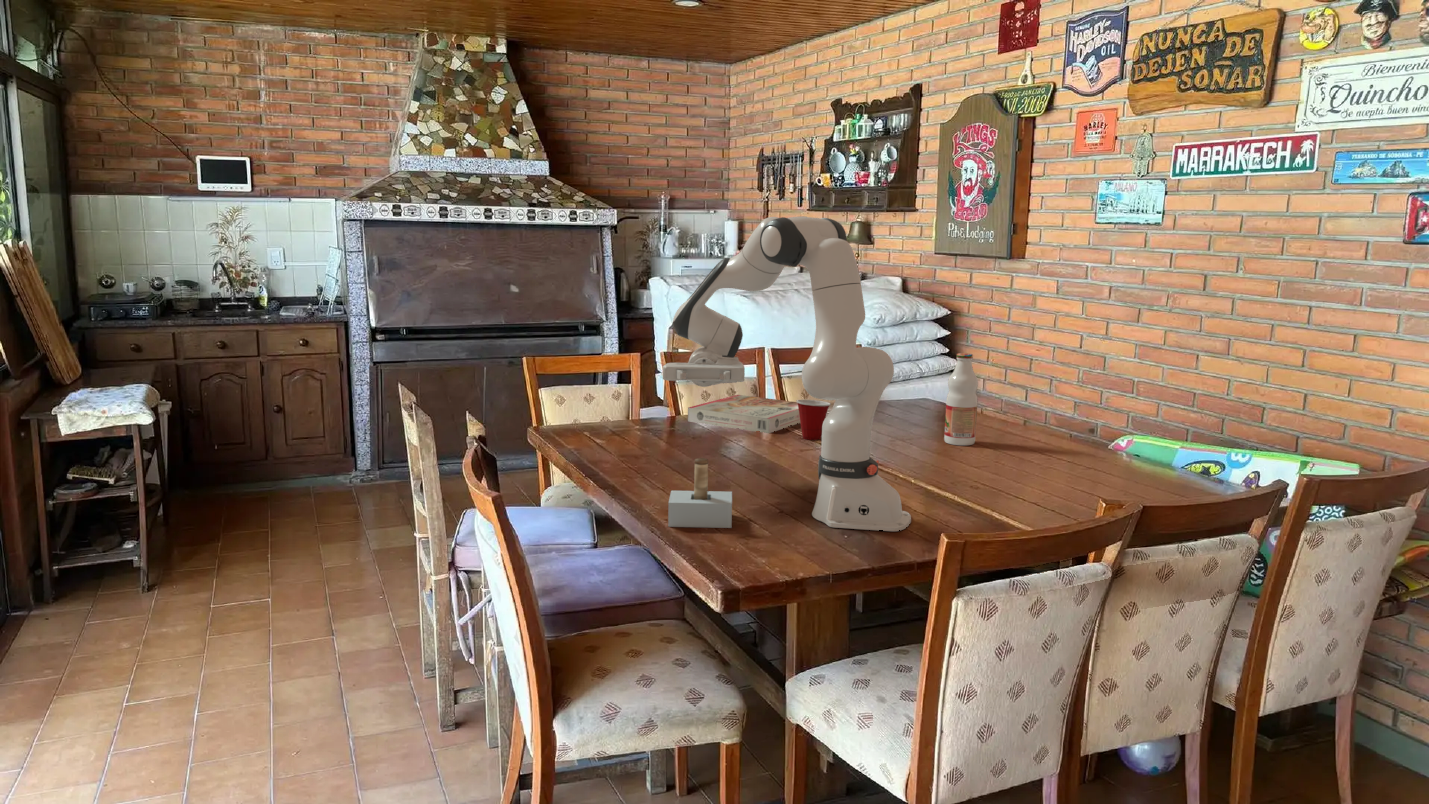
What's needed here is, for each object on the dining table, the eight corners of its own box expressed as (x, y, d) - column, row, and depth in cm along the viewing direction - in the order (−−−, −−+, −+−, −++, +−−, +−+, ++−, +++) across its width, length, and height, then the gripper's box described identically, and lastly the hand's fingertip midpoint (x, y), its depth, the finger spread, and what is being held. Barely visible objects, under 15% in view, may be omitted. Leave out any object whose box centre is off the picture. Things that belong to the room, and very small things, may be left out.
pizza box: (737, 394, 355) (815, 404, 337) (737, 408, 355) (814, 419, 338) (687, 407, 328) (769, 418, 311) (687, 422, 329) (769, 434, 312)
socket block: (731, 514, 223) (731, 491, 222) (731, 527, 213) (731, 503, 212) (671, 513, 223) (671, 490, 222) (668, 526, 213) (668, 502, 212)
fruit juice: (962, 447, 296) (968, 356, 291) (937, 442, 303) (942, 353, 298) (981, 443, 301) (986, 354, 296) (956, 438, 309) (961, 351, 304)
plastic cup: (836, 439, 304) (838, 402, 302) (810, 443, 298) (811, 405, 296) (814, 433, 313) (815, 396, 311) (788, 436, 307) (789, 399, 305)
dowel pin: (709, 510, 219) (710, 459, 217) (704, 514, 216) (705, 461, 214) (696, 509, 220) (697, 457, 218) (691, 512, 217) (692, 460, 215)
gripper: (663, 355, 244) (659, 363, 231) (744, 357, 244) (745, 364, 230) (663, 380, 245) (659, 389, 232) (743, 381, 245) (744, 390, 231)
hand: (702, 377), depth 231 cm, fingers open, 8 cm apart
